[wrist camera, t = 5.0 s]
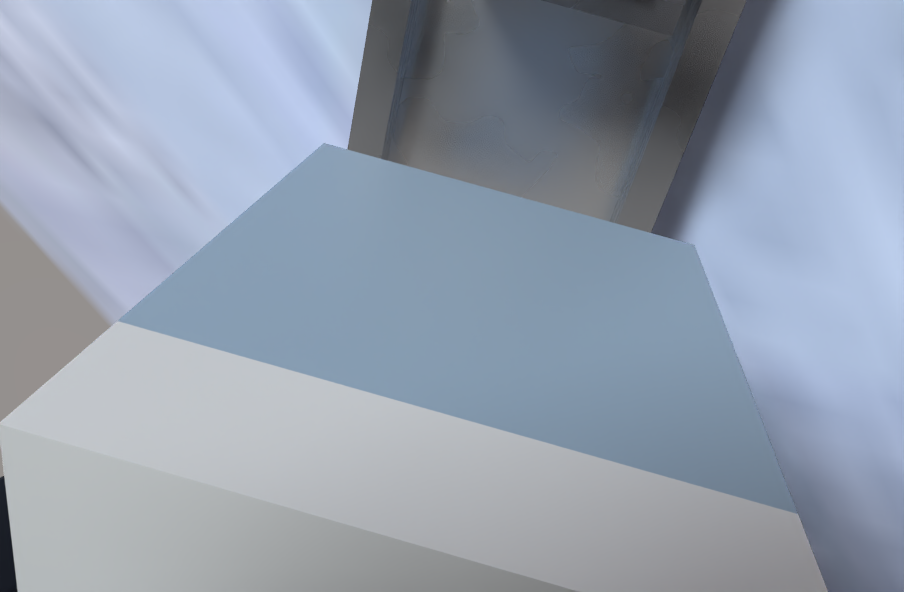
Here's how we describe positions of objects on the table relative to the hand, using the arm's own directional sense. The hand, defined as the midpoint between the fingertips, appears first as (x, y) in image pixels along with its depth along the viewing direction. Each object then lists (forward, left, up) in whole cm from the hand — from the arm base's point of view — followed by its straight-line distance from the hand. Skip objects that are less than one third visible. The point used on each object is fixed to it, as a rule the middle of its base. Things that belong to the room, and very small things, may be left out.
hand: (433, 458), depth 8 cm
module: (0, 0, -1) cm, 1 cm away
